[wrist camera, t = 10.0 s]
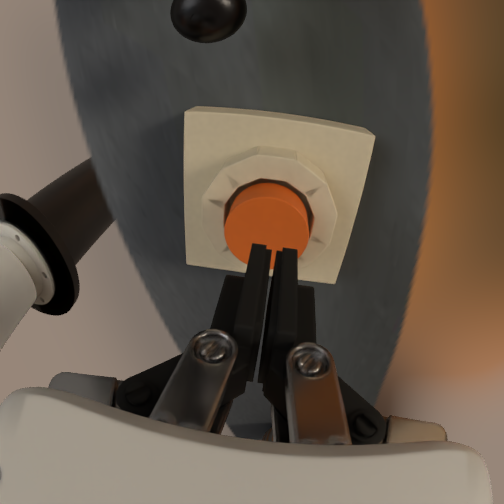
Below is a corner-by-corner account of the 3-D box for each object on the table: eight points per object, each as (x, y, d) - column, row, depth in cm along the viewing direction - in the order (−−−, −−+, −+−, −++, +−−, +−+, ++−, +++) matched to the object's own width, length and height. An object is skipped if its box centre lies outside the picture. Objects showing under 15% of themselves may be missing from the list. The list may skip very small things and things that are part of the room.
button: (228, 245, 17) (222, 264, 15) (232, 177, 14) (225, 191, 13) (299, 254, 16) (300, 274, 15) (313, 188, 14) (316, 203, 13)
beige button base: (194, 246, 21) (178, 282, 18) (195, 105, 16) (171, 116, 12) (331, 264, 21) (337, 303, 18) (365, 128, 15) (386, 144, 12)
